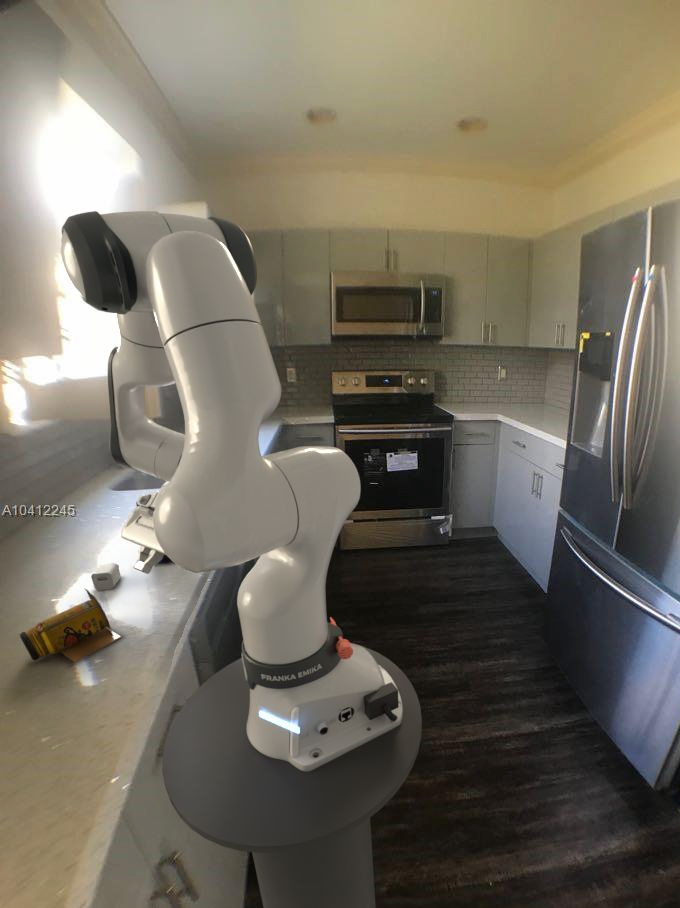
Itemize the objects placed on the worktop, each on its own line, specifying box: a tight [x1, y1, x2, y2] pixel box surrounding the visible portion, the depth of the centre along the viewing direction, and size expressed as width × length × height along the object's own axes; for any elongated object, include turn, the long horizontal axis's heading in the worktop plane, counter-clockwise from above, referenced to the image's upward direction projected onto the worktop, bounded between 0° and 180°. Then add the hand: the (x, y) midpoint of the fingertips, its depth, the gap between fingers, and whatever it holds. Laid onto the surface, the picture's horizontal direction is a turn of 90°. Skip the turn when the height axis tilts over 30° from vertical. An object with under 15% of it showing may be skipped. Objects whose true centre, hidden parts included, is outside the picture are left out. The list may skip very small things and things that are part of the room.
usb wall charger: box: [90, 562, 122, 591], centre depth 103 cm, size 4×7×4 cm, turn 11°
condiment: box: [19, 588, 113, 661], centre depth 82 cm, size 7×8×12 cm
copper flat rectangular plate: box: [58, 627, 122, 663], centre depth 83 cm, size 8×10×1 cm
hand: (140, 571), depth 90 cm, fingers closed
